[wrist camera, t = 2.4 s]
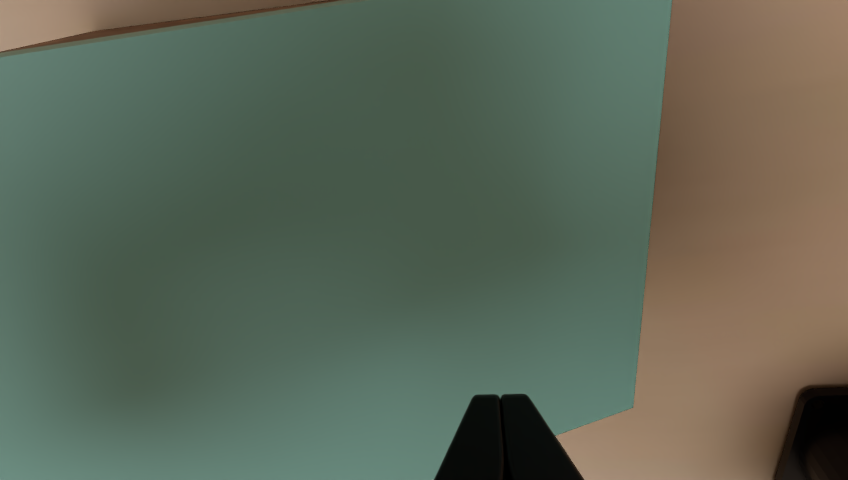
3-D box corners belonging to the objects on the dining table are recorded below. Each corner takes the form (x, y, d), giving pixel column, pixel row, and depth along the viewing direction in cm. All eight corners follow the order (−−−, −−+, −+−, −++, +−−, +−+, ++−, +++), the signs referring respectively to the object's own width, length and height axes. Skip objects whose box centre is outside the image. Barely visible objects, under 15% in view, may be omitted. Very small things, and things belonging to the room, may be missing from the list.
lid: (610, 382, 17) (633, 407, 16) (76, 566, 14) (62, 612, 13) (637, -46, 11) (676, -47, 10) (-282, 95, 8) (-359, 112, 7)
